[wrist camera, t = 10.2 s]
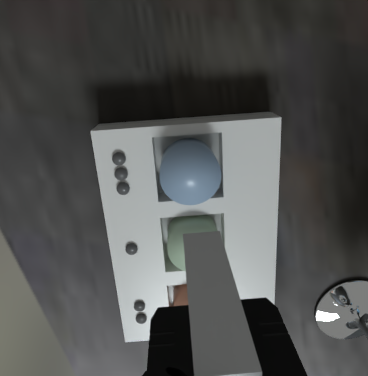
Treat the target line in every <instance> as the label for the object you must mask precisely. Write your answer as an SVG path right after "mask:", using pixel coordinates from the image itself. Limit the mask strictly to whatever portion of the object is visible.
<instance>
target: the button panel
mask: <svg viewBox="0 0 368 376" xmlns="http://www.w3.org/2000/svg"><path fill="white" fill-rule="evenodd" d="M91 138H92V144H93V150H94V156H95V162H96V168H97V174H98V180H99V186H100V192H101V198H102V204H103V210H104V216H105V222H106V228H107V234H108V240H109V246H110V252H111V258H112V264H113V270H114V276H115V282H116V288H117V294H118V300H119V306H120V312H121V319H122V325H123V331H124V337H125V342H134V341H147V340H149V336H150V321H151V318H152V316H153V315H154V313H155V311H156V310H157V308H158V307H169V306H174V304H173V292H174V288H175V286H176V285H182V284H187V281H186V271H183V270H181V269H179V268H177V267H176V266H175V265H174V264H173V263H172V262H171V260H170V258H169V256H168V252H167V242H168V227H169V225H170V223H171V221H172V220H173V219H174V218H175V217H180V216H194V215H209V216H210V217H211V218H212V219H213V220H214V222H215V224H216V227H217V231H220V233H221V237H222V240H223V243H224V247H225V250H226V253H227V257H228V260H229V263H230V267H231V270H232V273H233V277H234V280H235V283H236V287H237V290H238V293H239V296H240V300H241V299H253V298H265V297H266V298H267V299H268V300H269V301H271V302H272V303H273V304H274V299H275V273H276V247H277V221H278V195H279V168H280V142H281V117H280V116H278V115H276V114H274V113H272V112H257V113H243V114H229V115H216V116H202V117H188V118H174V119H160V120H146V121H132V122H118V123H104V124H98V125H97V126H96V127H95V128H93V129H92V130H91ZM183 138H195V139H198V140H201V141H203V142H204V143H206V144H207V145H208V146H209V147H210V148H211V149H212V151H213V153H214V155H215V157H216V159H217V161H218V163H219V166H220V169H221V182H220V185H219V188H218V190H217V191H216V193H215V194H214V195H213V196H212V197H211V198H210V199H208V200H207V201H205V202H203V203H200V204H197V205H183V204H179V203H177V202H175V201H173V200H172V199H170V198H169V197H168V196H167V195H166V194H165V192H164V191H163V189H162V187H161V184H160V165H161V159H162V156H163V153H164V152H165V150H166V149H167V147H168V146H169V145H171V144H172V143H173V142H175V141H177V140H179V139H183Z"/></svg>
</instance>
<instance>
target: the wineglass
mask: <svg viewBox="0 0 368 376" xmlns="http://www.w3.org/2000/svg"><path fill="white" fill-rule="evenodd" d="M315 320H316V323H317V325H318V327H319V328H320V330H321V331H322V332H324V333H325V334H326V335H328V336H330V337H333V338H337V339H352V338H357V337H360V336H362V335H365V336H366V338H367V339H368V281H366V280H351V281H346V282H343V283H341V284H338V285H336V286H334V287H333V288H331V289H330V290H329V291H327V292H326V293H325V294H324V295H323V296H322V298H321V299H320V301H319V302H318V304H317V307H316V310H315Z"/></svg>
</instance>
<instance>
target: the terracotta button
mask: <svg viewBox="0 0 368 376" xmlns="http://www.w3.org/2000/svg"><path fill="white" fill-rule="evenodd" d="M173 304H174V306H181V305H188V294H187V284H182V285H176V286H175V288H174V292H173Z"/></svg>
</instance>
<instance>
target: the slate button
mask: <svg viewBox="0 0 368 376" xmlns="http://www.w3.org/2000/svg"><path fill="white" fill-rule="evenodd" d="M220 182H221V169H220V166H219V163H218V161H217V159H216V157H215V155H214V153H213V151H212V149H211V148H210V147H209V146H208V145H207V144H206V143H204V142H203V141H201V140H198V139H195V138H183V139H179V140H177V141H175V142H173V143H172V144H171V145H169V146H168V147H167V149H166V150H165V152H164V153H163V156H162V159H161V165H160V184H161V187H162V189H163V191H164V192H165V194H166V195H167V196H168V197H169V198H170V199H172V200H173V201H175V202H177V203H179V204H183V205H197V204H200V203H203V202H205V201H207V200H208V199H210V198H211V197H212V196H213V195H214V194H215V193H216V191H217V190H218V188H219V185H220Z"/></svg>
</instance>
